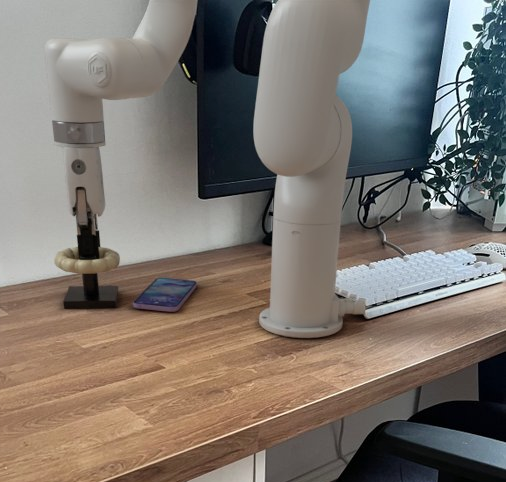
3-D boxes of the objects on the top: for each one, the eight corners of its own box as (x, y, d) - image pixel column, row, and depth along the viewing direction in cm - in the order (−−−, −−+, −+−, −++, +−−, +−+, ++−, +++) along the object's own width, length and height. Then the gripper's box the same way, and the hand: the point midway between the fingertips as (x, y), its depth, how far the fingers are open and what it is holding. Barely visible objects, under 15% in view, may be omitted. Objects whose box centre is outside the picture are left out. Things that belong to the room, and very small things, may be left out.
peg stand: (118, 292, 116) (115, 249, 112) (115, 308, 109) (112, 262, 105) (69, 293, 115) (64, 249, 111) (64, 308, 108) (58, 262, 104)
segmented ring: (121, 257, 114) (120, 244, 113) (119, 275, 105) (118, 262, 104) (58, 257, 113) (57, 244, 112) (52, 275, 104) (50, 262, 103)
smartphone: (198, 280, 119) (176, 307, 107) (198, 286, 120) (176, 313, 107) (157, 276, 120) (130, 303, 107) (157, 282, 121) (130, 309, 108)
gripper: (100, 141, 96) (110, 271, 106) (108, 129, 110) (116, 245, 120) (46, 140, 96) (60, 271, 105) (60, 128, 109) (72, 245, 119)
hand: (90, 256), depth 112 cm, fingers closed on segmented ring, 2 cm apart
